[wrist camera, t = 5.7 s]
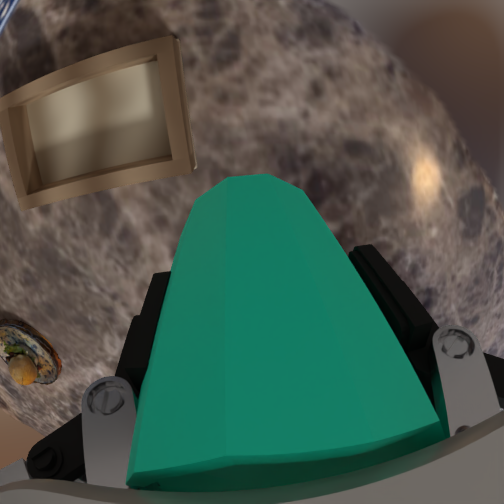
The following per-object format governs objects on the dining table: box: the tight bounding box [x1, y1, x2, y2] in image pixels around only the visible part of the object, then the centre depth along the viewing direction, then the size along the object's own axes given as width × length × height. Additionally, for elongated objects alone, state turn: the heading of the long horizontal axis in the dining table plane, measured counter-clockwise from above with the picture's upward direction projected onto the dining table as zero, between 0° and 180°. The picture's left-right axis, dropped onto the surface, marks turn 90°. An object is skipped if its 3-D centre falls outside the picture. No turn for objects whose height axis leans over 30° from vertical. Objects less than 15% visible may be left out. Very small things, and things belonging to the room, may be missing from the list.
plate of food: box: [0, 319, 62, 387], centre depth 32 cm, size 12×12×8 cm
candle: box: [125, 174, 446, 492], centre depth 8 cm, size 6×6×12 cm
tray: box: [0, 35, 197, 211], centre depth 21 cm, size 16×11×4 cm
